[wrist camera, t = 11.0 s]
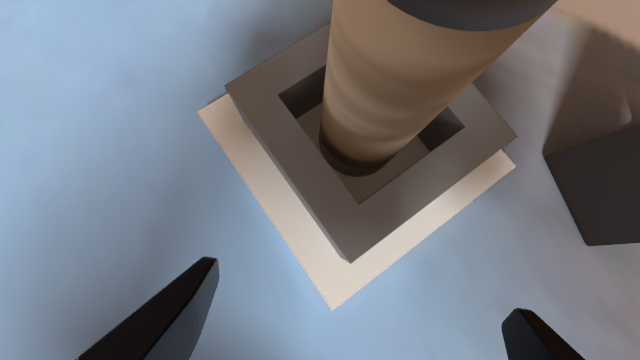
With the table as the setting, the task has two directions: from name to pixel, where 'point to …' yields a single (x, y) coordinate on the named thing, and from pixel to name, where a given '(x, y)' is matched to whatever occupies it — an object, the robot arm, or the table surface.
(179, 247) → the table surface
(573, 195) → the phone stand
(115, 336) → the robot arm
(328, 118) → the rail post
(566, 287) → the table surface
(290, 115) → the post socket
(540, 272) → the table surface
